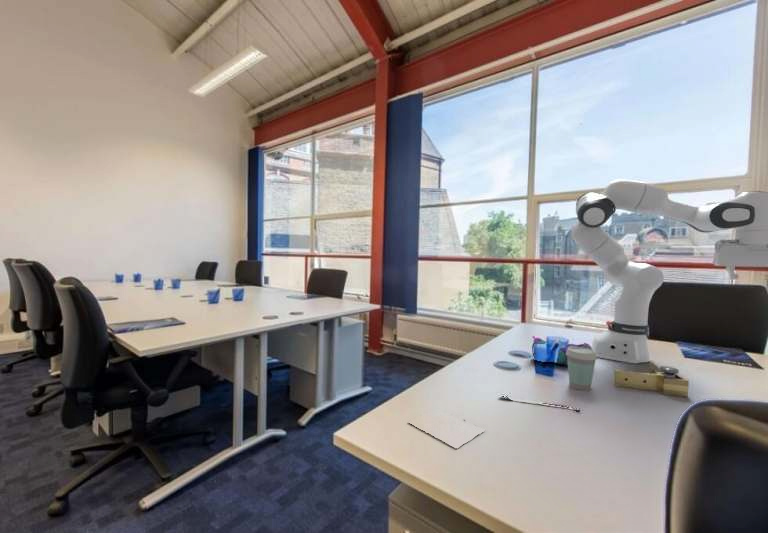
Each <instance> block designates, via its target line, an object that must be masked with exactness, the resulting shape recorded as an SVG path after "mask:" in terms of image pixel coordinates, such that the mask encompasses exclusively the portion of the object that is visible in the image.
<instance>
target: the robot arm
mask: <svg viewBox="0 0 768 533" xmlns="http://www.w3.org/2000/svg"><path fill="white" fill-rule="evenodd" d="M616 210H622V211H627V212H631V213H636V214H641V215H649V216H657V217H663V218H666V219H670V220H674V221H678V222H681V223H683V224H686V225H688V226H690V228H692V229H693V230H695V231H697V232H700V233H706V234H707V233H708V234H709V233H713V232H719V231H727V230H732V229H735V237H734V239H720V240H718V241H717V242H716V243H715V244H714V254H713V259H712V263H713V264H714V266H716V267H725V270H726V271H727V273H728V275H729V280H735V281H736V280H738V279H739V274H736V273H735V272H734V270H735V269H736V267H759V268H763V267H764V268H768V191H767V192H766V191H759V190H755V191H753V190H751V191H745V192H741V193H740V194H739V195H737V196H735V197H733V198H730V199H728V200H725V201H722V202H718V203H714V204H710V205H702V206H692V205H688V204H685V203H681V202H678V201H673V200H672V199H669V196H668V192H667V190H666V189H665V188H663V187H661V186H659V185H656V184H651V183H649V182H643V181H638V180H630V179H629V180H628V179H615V180H612V181H610V183H608V185H607V186H606V187H605V189H604V190H603V192H602V193H599V192H596V191H588V192H586V193H584V194H582V195H581V196H580V197H578V199H577V201H576V203H575V214H576V217H577V219H578V223H576V224H575V225H574V226H573V227H572V229H571V231H570V236H571V238H572V240H573V241H574V242H575V244H576V245H577V246H578V248H579V249H580V250H581V251H582V252H584V253H585V254H586V255H587V256H588V257H589V258H590V259H591V260H592V261H593V262H594V263H595V264H596V265H597V266H599V268H600V269H601V270H602V272H603V273H604V274H605V277H606V280H607V281H608V282H609V283H610V284H611V285H613V286H615V287H618V288H620V289H622V290H621V293H620V297H619V298H618V299H617V300H616V301H615V303H614V319H613V321H611V320H606V321H605V324H606V325H607V330H605V331H603V332H601V333H599V334H597V335H594V337H593V339H592V340H591V341H592V343H591V344H590V346H591V348H592V350H593V351H595V354H596V358H600V359H606V360H611V361H618V362H623V363H630V364H634V365H635V364H639V363H648V362H649V363H650V361H652V358H651V356H650V351H649V344H648V339H649V336H650V335H649V334H650V325H649V324H648V320H649V307H650V303H651V300H652V298H653V295H654V294H655V292H656V291H657V289H659V288H660V287H661V286H662V284H663V283H664V279H665V278H664V276H665V275H664V274H663V272H662V270H661V269H660V268H659V267H657V266H655V265H652V264H649V263H644V262H634V261H632V260H631V259H629V258H628V256H627V254H626V253H625V252H624V251H625V250H624V247H623V246H622V245H621V244H620V243H619V242H618V241H617V240H616V239H615V238H613V237H612V236H611V235H610V234H609V233H608V232H606V230H605V229H604V228H603V227H602V226H604V224H605V223H607V221H609V219H610V218H611V217H612V216H613V214H615V213H616ZM764 280H765V281H768V274H765V275H764Z"/></svg>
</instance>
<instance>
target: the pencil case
mask: <svg viewBox="0 0 768 533" xmlns="http://www.w3.org/2000/svg"><path fill="white" fill-rule="evenodd" d="M532 339H533V342H532V344H531V350H532V351H531V352H532V357H533V356H534V353H533V347H534V345H535V344H545V343H546V342H547V341H546V340H545V339H543V338H541V337H536V336H534V335H532ZM563 344H564V345H562V347H561V348H560V350H559V353H558V358H557V363H558V364H557V365H562V364H563V366H566V367H568V361H567V355H566V351H567V350H568V348H569V347H583V348H588V349H591V350H592V348H591V344H588V343H587V342H583V343H579V344H576V343H575V344H574V343H563Z"/></svg>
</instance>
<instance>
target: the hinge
mask: <svg viewBox="0 0 768 533" xmlns="http://www.w3.org/2000/svg"><path fill="white" fill-rule="evenodd" d="M660 367H661V366H660V365H658V364H657V362H654V361H653V360H651V361H649V369H648V370H649V371H648V372H640V371H639V372H638V371H630V370H621V369H614V379H613V385H614V386H615V385H617V386H616V387H622V386H625V387H624V388H630V387H633V388H632V389H639V388H642V389H641V390H647V389H650V390H649V391H655V390H658V392H660V393H661V392H662V393H661V394H663V395H665V394H667V396H673V395H678V396H677V397H681V396H688V397H689V382H690V381H689V380H688V379H687V378H685V377H684V376H682V375H681V374H679V373H678V374H675V378H666V377H665V376H664V375H663V371H661V370H660Z"/></svg>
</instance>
